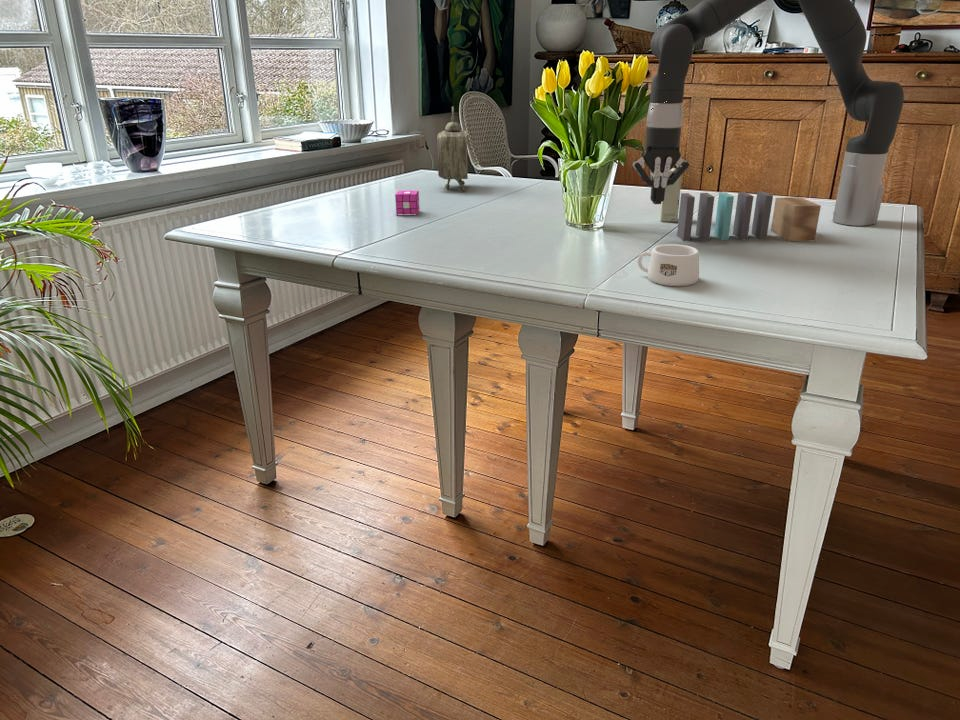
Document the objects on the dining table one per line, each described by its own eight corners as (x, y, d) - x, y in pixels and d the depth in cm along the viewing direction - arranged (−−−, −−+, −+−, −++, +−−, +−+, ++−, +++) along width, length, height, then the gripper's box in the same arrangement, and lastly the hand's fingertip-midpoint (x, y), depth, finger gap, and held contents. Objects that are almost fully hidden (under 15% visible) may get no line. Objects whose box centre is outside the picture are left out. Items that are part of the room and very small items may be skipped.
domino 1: (683, 235, 170) (688, 193, 166) (690, 240, 165) (694, 197, 161) (676, 235, 170) (681, 193, 166) (683, 240, 165) (687, 197, 161)
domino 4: (739, 234, 170) (745, 191, 166) (747, 239, 166) (753, 196, 162) (732, 234, 170) (738, 192, 166) (740, 239, 166) (746, 196, 162)
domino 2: (702, 235, 170) (707, 192, 166) (709, 240, 165) (714, 196, 161) (695, 235, 170) (700, 192, 166) (702, 240, 165) (707, 196, 161)
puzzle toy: (417, 215, 193) (416, 194, 191) (396, 215, 193) (395, 194, 191) (419, 211, 198) (418, 190, 196) (399, 211, 199) (398, 190, 196)
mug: (703, 276, 140) (706, 246, 137) (691, 290, 132) (695, 259, 130) (643, 269, 145) (645, 239, 143) (628, 282, 137) (631, 251, 135)
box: (677, 222, 182) (682, 171, 177) (659, 221, 183) (664, 170, 178) (676, 218, 187) (681, 167, 182) (659, 217, 188) (663, 167, 182)
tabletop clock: (467, 193, 222) (466, 108, 212) (438, 193, 222) (436, 108, 212) (467, 184, 235) (466, 104, 225) (440, 185, 235) (437, 104, 225)
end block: (794, 230, 173) (800, 197, 170) (814, 240, 164) (820, 205, 161) (770, 230, 173) (775, 197, 170) (788, 241, 164) (794, 206, 160)
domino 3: (720, 234, 170) (725, 192, 166) (728, 239, 165) (733, 196, 161) (713, 234, 170) (719, 192, 166) (721, 240, 165) (727, 196, 161)
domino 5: (757, 233, 170) (764, 191, 166) (766, 239, 166) (773, 195, 162) (751, 233, 170) (757, 191, 166) (759, 239, 166) (766, 195, 162)
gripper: (638, 126, 153) (632, 207, 160) (699, 125, 154) (690, 206, 161) (630, 123, 160) (624, 200, 167) (688, 122, 160) (680, 199, 167)
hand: (656, 203), depth 164 cm, fingers closed
